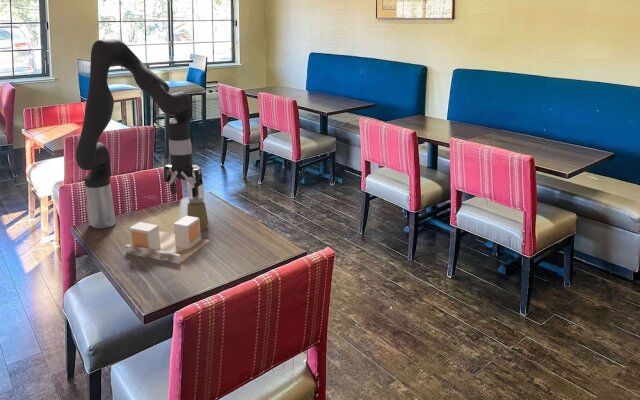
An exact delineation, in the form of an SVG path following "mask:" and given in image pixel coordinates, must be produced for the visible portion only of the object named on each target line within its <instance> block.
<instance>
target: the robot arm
mask: <svg viewBox="0 0 640 400" xmlns="http://www.w3.org/2000/svg"><path fill="white" fill-rule="evenodd" d="M119 66H120V67H122V68H124V69H126V70H128V71H129V72H130V73H131V74H132V76H133V79H134V80H135V84H136V85H137V87H139V88H140V89H141V91H143V92H144V93H145V94H146V95H148V96H149V97H150V98H152V100H153V101H154V102H155V104H156V105H157V106H158V108H159V109H160V110H161V112H162V113H164V114H166V115H168V116H171V117H172V116H174V118H173V119H172V120H170V122H169V123H168V125H167V132H168V149H169V150H168V151H169V158H170V159H169V161H170V164H169V163H168V164H166V165H164V166H163V177H164V179H163V181H164V182H165V183H168V184H169V187H170V188H169V189H170V193H171V195H175V194H177V193H178V189H177V188H178V186H177V183H176V182H177V180H183V181H186V183H187V182H188V183H190V184H191V186H192V197H196V196H197V195H198V187H199V186H200V185H202V184H203V180H204V179H203V180H202V178H203V171H202V169H201V167H200V168H199V169H193V166H192V165H194V162H193V160H194V158H193V148H192V147H193V146H192V141H191V134H190V122H191V118H192V110H193V102H192V99H191V97H190V95H189V94H188V93H187V92H185V91H178V92H174V93H169V92H170V86H169V84H168V83H167V82H166V81H165V80H164V79H162V78H161V77H159V76H158V75H157V74H156V73H154V72H153V71H152V70H151V69H150V68H148V67H147V66H146V65H145V64H144V63H143V62H142V60H140V58H139V57H138V56H137V55H136V54H135V53H134V51H132V50H131V48H129V46H128V45H127V44H126V43H125V42H124V41H122V40H120V39H118V38H107V39H106V38H105V39H98V40H96V41H95V42H94V43H93V44H92V47H91V50H90V65H89V68H90V69H89V70H90V71H89V80H88V81H89V83H88V91H87V98H86V101H85V108H84V118H83V120H82V121H83V123H82V127H81V132H80V137H79V140H78V143H77V147H76V150H75V151H76V152H75V161H76V164H77V166H78V168H79V169H80V170H83V171H90V172H89V173H88V174H86V176H85V177H84V178H83V179H84V181H83V182H84V187H85V194H86V199H87V202H86V203H85V208H86V213H87V220H88V225H89V226H90V227H92V228H93V229H99V230H100V229H101V230H102V229H108V228H111V227H113V226H114V225H115V224H117V223H116V215H115V208H114V200H113V193H112V186H111V178H112V177H111V176H112V171H111V170H112V169H111V157H110V152H109V150H108V148H107V146H106V145H105V144H104V143H102V142H99V139H100V137H101V136H102V134H103V133H104V132H105V130H106V128H107V127H108V125H109V124H110V122H111V119H112V118H113V117H112V116H113V111H114V105H115V99H114V96H113V94H112V91H111V88H110V87H109V84H108V76H109V72H110V71H109V70H110V68H113V67H119ZM201 171H202V172H201ZM172 173H173V174H172ZM193 173H194V175H195V176H194V175H193ZM190 177H191V179H190Z"/></svg>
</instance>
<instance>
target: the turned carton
mask: <svg viewBox="0 0 640 400" xmlns="http://www.w3.org/2000/svg"><path fill="white" fill-rule="evenodd" d="M173 230H174V233H173V234H175V243H176V246H177V247H182V248H187V249H189V248H191V247H192V246H194V245H195V244H196V243H198V242H199V241H200V240H201V239H202V237H201V236H202V235H201V231H200V221H199V218H198V217H192V216H187V215H185V216H183V217H181V218H180V219H178V220H176V221H175V222H174V223H173Z"/></svg>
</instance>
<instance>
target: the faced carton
mask: <svg viewBox="0 0 640 400" xmlns="http://www.w3.org/2000/svg"><path fill="white" fill-rule="evenodd" d="M159 229H160V228H159V225H158V224H155V223H154V224H153V223H147V222H142V221H139V222H136V223H135V224H134V225H132V226H130V227H129V229H128V230H129V236H130V245H133V246H138V247H143V248H149V249H154V250H159V249H160V248H161V246H160V237H159V232H160V230H159Z"/></svg>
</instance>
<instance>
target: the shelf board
mask: <svg viewBox="0 0 640 400" xmlns="http://www.w3.org/2000/svg"><path fill="white" fill-rule="evenodd" d="M159 237H160V246H161V248H160V249H159V250H154V249H149V248H143V247H138V246H133V245H131V244H125V246H124V248H125V254H128V255H133V256H137V257H144V258H148V259H154V260H159V261H163V262H168V263H173V264H181V263H182V262H184V261H185V260H186V259H188V258H189V257H190V256H191V255H193V254H195V253H196V252H197V251H198V250H199V249H201V248H202V247H203V246H204V245H206V244H207V243H209V242H210V241H211V240H209V239H205V238H201V240H200V241H199V242H198V243H196V244H195V245H194V246H192V247H191V248H189V249H187V248H182V247H177V246H176V243H175V233H171V232H166V231H161V230H159Z"/></svg>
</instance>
